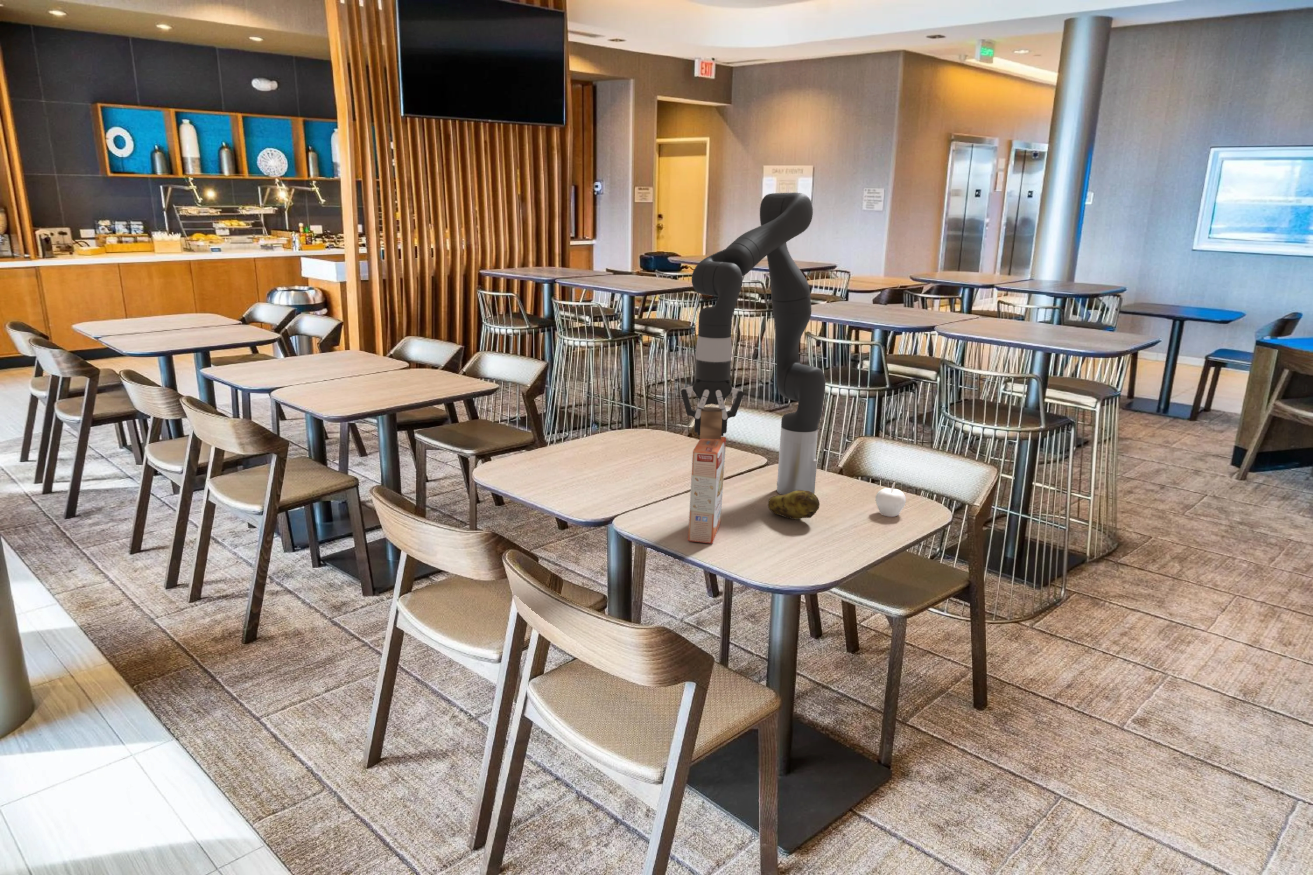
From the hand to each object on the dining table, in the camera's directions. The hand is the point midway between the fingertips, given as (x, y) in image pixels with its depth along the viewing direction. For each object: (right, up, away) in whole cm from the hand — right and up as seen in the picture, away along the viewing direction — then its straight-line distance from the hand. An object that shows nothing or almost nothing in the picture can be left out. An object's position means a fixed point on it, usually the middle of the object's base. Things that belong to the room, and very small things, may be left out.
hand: (710, 434), depth 189 cm
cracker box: (-1, -22, +6) cm, 23 cm away
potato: (+20, -20, +15) cm, 33 cm away
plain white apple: (+45, -19, +21) cm, 53 cm away
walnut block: (0, 0, 0) cm, 0 cm away
